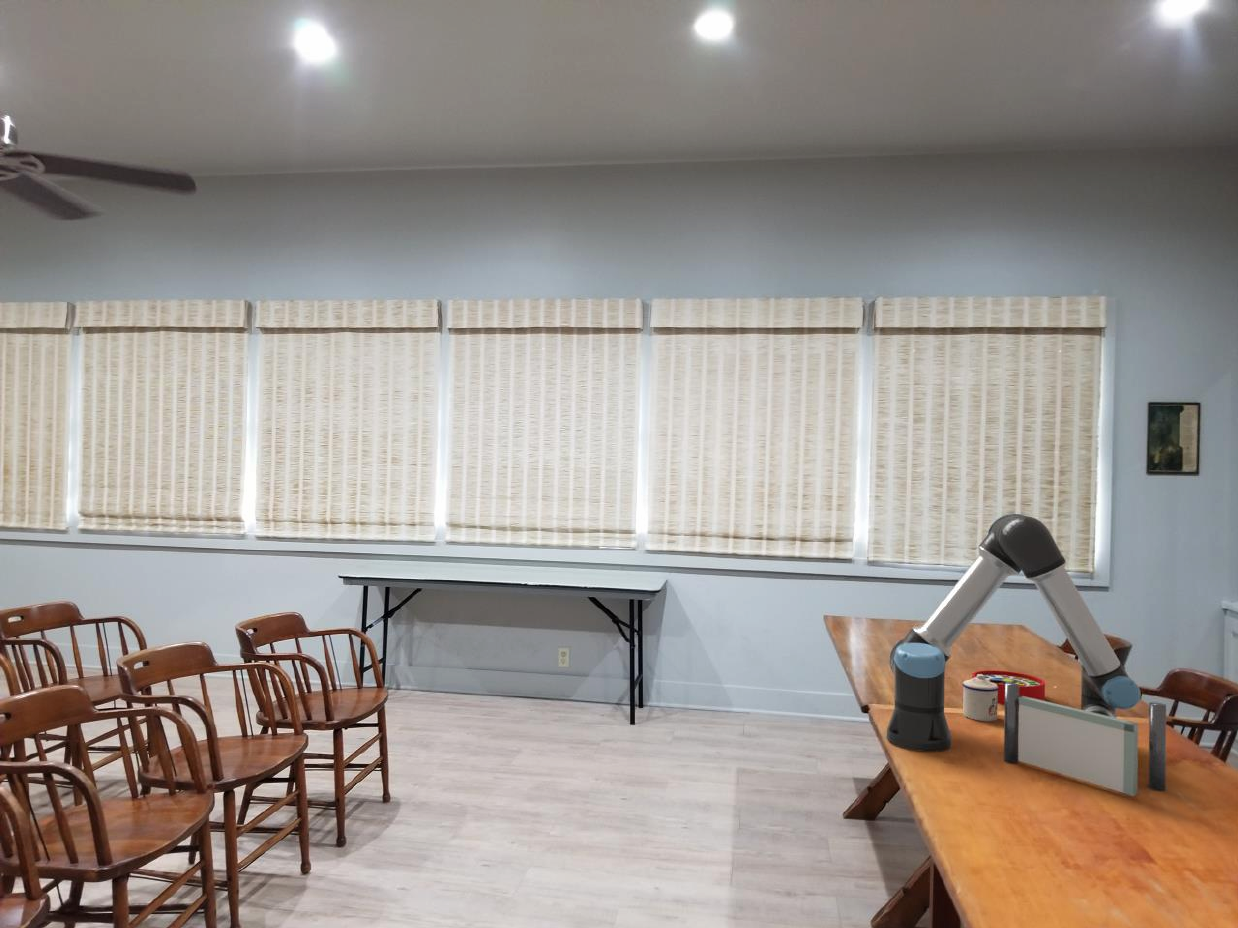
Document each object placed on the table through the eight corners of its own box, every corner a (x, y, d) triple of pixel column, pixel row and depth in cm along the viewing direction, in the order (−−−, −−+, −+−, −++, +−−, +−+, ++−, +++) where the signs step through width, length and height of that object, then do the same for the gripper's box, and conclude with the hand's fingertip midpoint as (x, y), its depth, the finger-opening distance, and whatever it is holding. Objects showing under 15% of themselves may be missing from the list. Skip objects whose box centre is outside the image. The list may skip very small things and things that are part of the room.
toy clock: (1039, 674, 250) (1050, 689, 231) (1039, 692, 250) (1049, 709, 231) (970, 667, 257) (974, 682, 238) (969, 685, 256) (974, 701, 238)
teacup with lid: (996, 723, 215) (996, 680, 216) (960, 718, 220) (960, 675, 220) (1000, 713, 226) (1001, 671, 226) (965, 707, 230) (966, 667, 231)
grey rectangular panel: (1018, 760, 184) (1018, 697, 184) (1022, 759, 185) (1023, 695, 186) (1132, 795, 165) (1133, 724, 165) (1137, 793, 166) (1137, 723, 166)
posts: (1003, 761, 186) (1004, 684, 186) (1004, 758, 189) (1005, 681, 189) (1165, 791, 170) (1166, 706, 170) (1165, 787, 172) (1165, 703, 172)
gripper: (1130, 746, 189) (1134, 778, 169) (1066, 736, 196) (1062, 765, 176) (1131, 715, 189) (1134, 742, 169) (1066, 705, 196) (1062, 730, 176)
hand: (1097, 753), depth 172 cm, fingers closed
